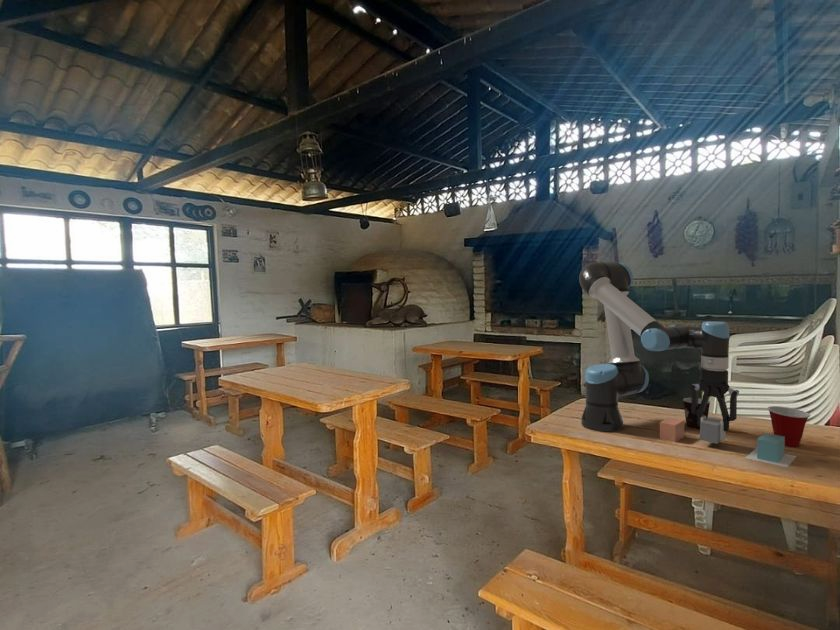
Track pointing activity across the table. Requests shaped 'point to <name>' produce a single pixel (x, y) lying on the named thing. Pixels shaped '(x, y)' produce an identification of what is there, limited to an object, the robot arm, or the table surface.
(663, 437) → the terracotta brick
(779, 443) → the teal base brick
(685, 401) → the coffee mug
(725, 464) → the table surface
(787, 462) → the baseplate
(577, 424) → the table surface
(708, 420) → the charcoal brick
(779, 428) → the plastic cup
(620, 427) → the robot arm
